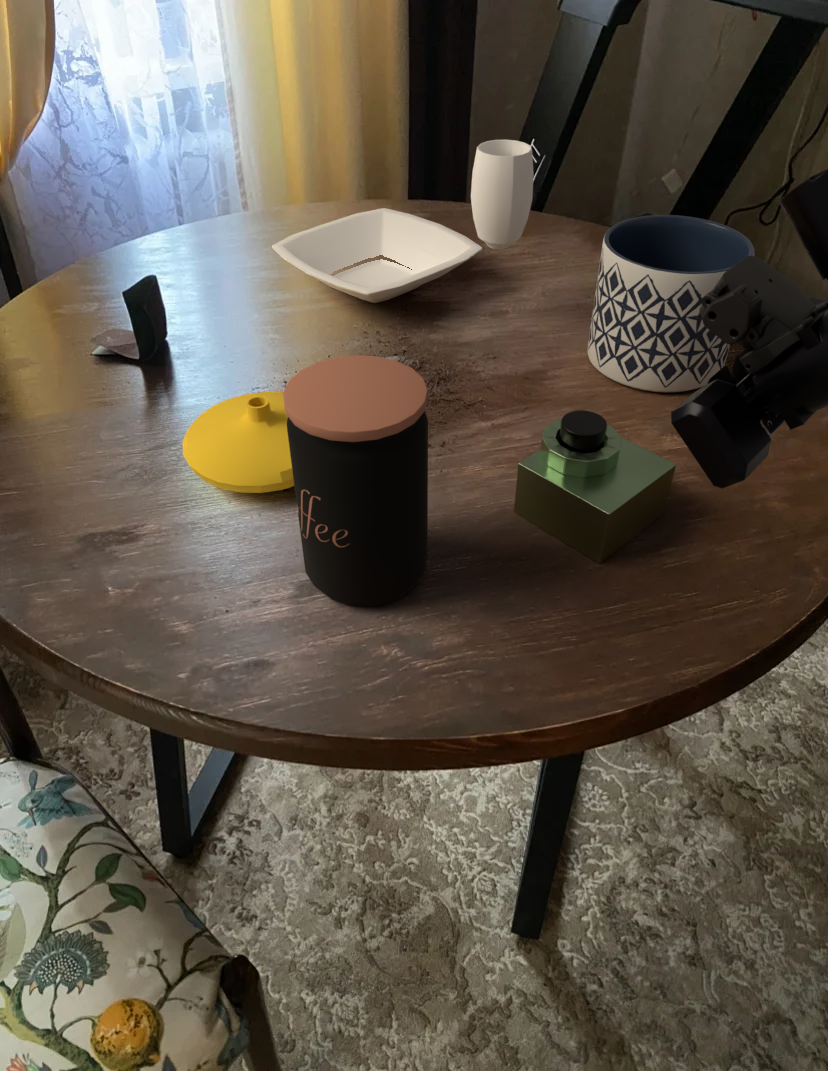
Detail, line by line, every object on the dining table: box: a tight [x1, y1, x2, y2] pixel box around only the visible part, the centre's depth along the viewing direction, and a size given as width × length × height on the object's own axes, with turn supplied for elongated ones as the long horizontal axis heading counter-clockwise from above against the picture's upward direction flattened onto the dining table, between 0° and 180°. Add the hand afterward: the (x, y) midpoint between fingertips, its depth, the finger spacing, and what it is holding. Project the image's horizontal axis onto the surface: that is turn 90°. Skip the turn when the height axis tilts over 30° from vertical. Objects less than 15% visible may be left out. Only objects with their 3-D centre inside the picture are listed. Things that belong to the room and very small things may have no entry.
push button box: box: [513, 417, 677, 565], centre depth 76 cm, size 10×10×8 cm
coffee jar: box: [282, 354, 429, 608], centre depth 67 cm, size 11×11×18 cm
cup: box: [470, 139, 535, 251], centre depth 102 cm, size 7×7×21 cm
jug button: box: [559, 409, 608, 453], centre depth 74 cm, size 4×4×2 cm
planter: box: [587, 214, 755, 393], centre depth 95 cm, size 16×16×14 cm
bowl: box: [271, 207, 483, 304], centre depth 114 cm, size 22×23×6 cm
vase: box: [181, 391, 294, 494], centre depth 83 cm, size 16×16×7 cm
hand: (683, 428), depth 66 cm, fingers closed
